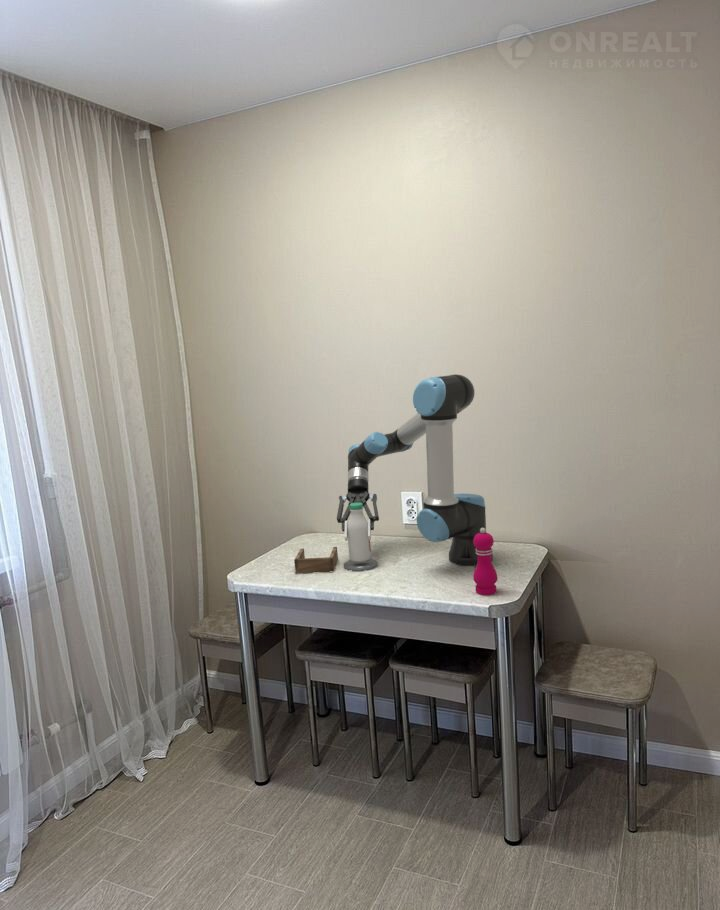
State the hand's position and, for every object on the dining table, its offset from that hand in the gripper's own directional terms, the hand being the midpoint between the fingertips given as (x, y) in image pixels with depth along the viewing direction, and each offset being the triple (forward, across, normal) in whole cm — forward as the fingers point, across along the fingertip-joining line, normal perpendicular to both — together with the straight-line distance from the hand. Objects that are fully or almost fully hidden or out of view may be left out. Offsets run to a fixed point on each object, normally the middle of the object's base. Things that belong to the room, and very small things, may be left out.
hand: (357, 538), depth 243 cm
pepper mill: (+27, -41, +11) cm, 50 cm away
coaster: (+5, 0, -10) cm, 12 cm away
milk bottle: (+4, 0, -9) cm, 9 cm away
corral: (+4, +16, -11) cm, 20 cm away
